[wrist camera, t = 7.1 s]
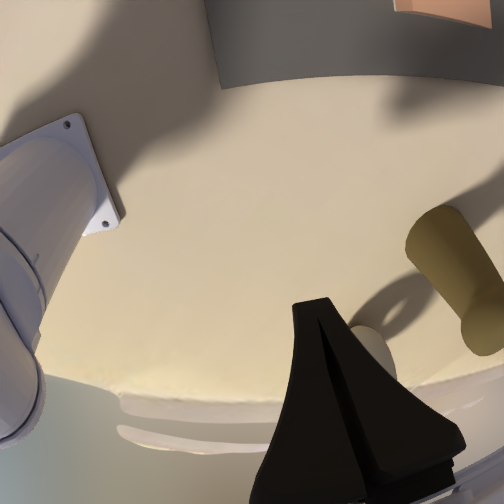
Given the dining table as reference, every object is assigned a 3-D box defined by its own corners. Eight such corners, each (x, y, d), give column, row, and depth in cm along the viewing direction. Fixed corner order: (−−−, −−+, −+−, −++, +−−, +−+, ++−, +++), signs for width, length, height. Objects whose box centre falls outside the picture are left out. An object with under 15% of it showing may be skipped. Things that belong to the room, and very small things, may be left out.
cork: (391, 249, 23) (456, 364, 15) (441, 192, 20) (531, 295, 12) (429, 273, 26) (485, 372, 17) (472, 226, 23) (545, 318, 14)
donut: (357, 359, 33) (381, 437, 25) (328, 364, 33) (349, 446, 25) (375, 299, 27) (416, 395, 19) (340, 305, 27) (374, 407, 19)
